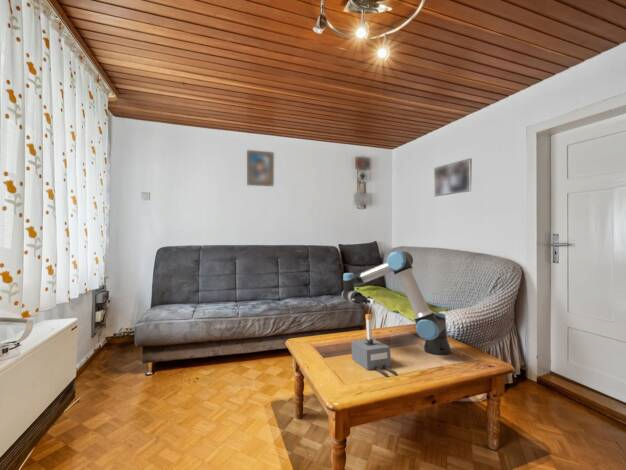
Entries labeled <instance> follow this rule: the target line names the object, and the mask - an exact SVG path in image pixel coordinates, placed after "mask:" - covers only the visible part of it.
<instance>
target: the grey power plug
mask: <svg viewBox="0 0 626 470" xmlns="http://www.w3.org/2000/svg"><path fill="white" fill-rule="evenodd" d="M372 340H373V343H372V344H370V343H368V342H367V341H366V339H360V340H359V339H358V340H351V341H350V342H351V343H350V345H351V359H352V361H353V362H355V363H356V364H358V365H360V366H361V367H362V368H363V369H365V370H366V371H371V370H375V371H377V372H378V373H380V374H382V376H384V377H389V374H388V373H387V372H385V371H384V370H383V369H385V370H386V371H388V372H390V373H391V374H393V375H395V376H397V375H398V373H397V372H396V371H395V370H393V369H392V368H390V367H392V360H391V359H392V358H391V357H392V356H391V347H390V346H389V345H387V344H385V343H382V342H380V341H378V340H376V339H375V338H372Z"/></svg>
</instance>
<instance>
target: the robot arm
mask: <svg viewBox="0 0 626 470" xmlns="http://www.w3.org/2000/svg"><path fill="white" fill-rule="evenodd" d="M413 258H414V257H413V255H412V254H410V252H407V251H400V250H397V251H393V252H390V253H388V256H387V258H386V262H384V263H382V264H379V265H376V266H375V267H372V268H369V269H367V270H364V271H363V272H360V273H358V274H354V273H353V272H345V273H343V276H342V277H343V279H342V282H343V291H342V292H341V298H342V299H343V300H344V301H346V302H350V303H352V304H356V305H359V304H365V305H368V304H369V305H376V299H375V298H373V297H371V296H370V295H368V296H365V295H363V294H362V293H361V292H360V291H355V286H361V285H364V284H365V283H368V282H370V281H372V280H376V279H377V278H381V277H383V276H385V275H389V274H390V273H391V274H392V273H393V274H394V276H395V277H397V278H398V279H399V281H400V284H401V286H402V288H403V290H404V293H405V294H406V298H407V300H408V302H409V304H410V307H411V308H412V311H413V313H414V317H413V320H414V322H415V324H416V325H415V330H416V333H417V334H418V336H419V337H420V338H421V339H424V340H425V342H424V344H423V345H424V346H423V349H424V352H425V353H428V354H432V355H438V356H443V355H444V356H445V355H450V354H451V353H452V348H451V346H450V343H449V340H448V335H447V322H446V321H447V318H446V314H444V313H441V312H434V311H432V310H430V309H429V306H428V304H427V302H426V299H425V297H424V296H423V293H422V291H421V289H420V287H419V285H418V282H417V280H416V278H415V276H414V274H413V269H414V268H413V263H414V259H413Z"/></svg>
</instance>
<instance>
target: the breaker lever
mask: <svg viewBox="0 0 626 470" xmlns="http://www.w3.org/2000/svg"><path fill="white" fill-rule="evenodd" d="M372 316H373V315H372V314H370V313H367V314H365V324H366V325H365V327H366V339H365V340H366V341H367V342H368V343H370V344H372V343H373V340H372V339H373V328H372V327H373V326H372V318H373V317H372Z"/></svg>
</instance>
